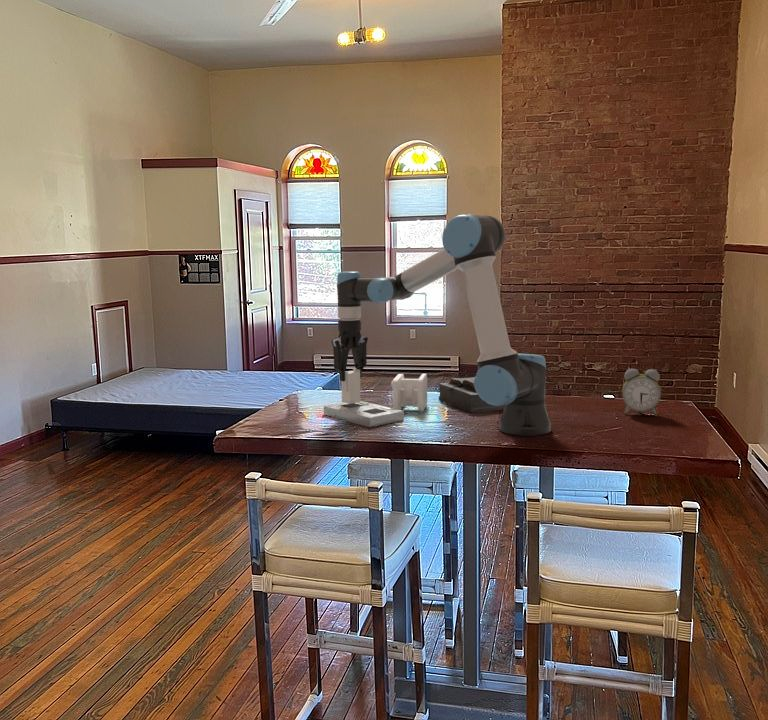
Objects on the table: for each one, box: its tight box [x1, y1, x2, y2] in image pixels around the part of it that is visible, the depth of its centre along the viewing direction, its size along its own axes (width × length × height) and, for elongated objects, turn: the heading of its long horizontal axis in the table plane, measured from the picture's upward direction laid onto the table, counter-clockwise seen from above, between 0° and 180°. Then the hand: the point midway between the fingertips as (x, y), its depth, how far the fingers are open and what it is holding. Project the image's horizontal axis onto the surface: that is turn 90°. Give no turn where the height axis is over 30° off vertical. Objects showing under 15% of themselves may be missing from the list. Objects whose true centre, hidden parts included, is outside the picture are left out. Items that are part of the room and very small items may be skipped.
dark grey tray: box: [438, 376, 505, 414], centre depth 256 cm, size 23×27×10 cm
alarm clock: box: [621, 368, 662, 417], centre depth 235 cm, size 12×7×15 cm, turn 72°
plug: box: [341, 370, 362, 404], centre depth 242 cm, size 6×4×10 cm
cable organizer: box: [390, 373, 428, 413], centre depth 248 cm, size 15×11×12 cm
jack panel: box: [323, 400, 405, 428], centre depth 238 cm, size 24×14×3 cm, turn 41°
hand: (351, 389), depth 241 cm, fingers closed on plug, 4 cm apart
